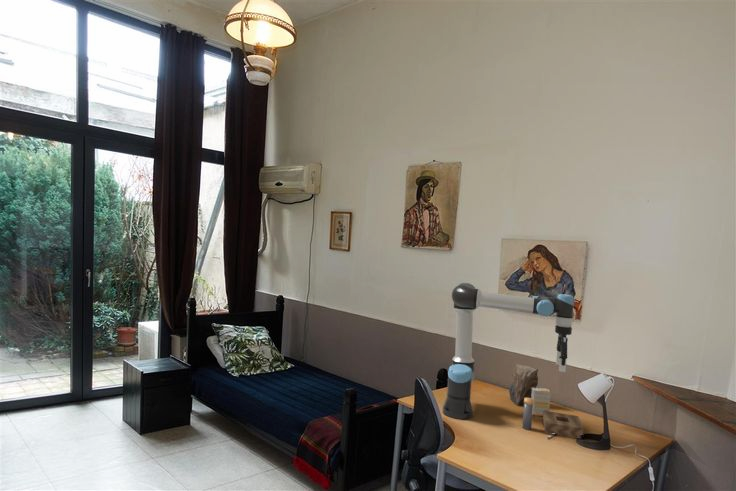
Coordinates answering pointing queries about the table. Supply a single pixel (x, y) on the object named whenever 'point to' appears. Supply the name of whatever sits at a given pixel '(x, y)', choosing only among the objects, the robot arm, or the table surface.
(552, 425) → the socket board
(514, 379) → the brown rock
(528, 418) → the marker peg
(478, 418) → the table surface
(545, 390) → the supplement box
